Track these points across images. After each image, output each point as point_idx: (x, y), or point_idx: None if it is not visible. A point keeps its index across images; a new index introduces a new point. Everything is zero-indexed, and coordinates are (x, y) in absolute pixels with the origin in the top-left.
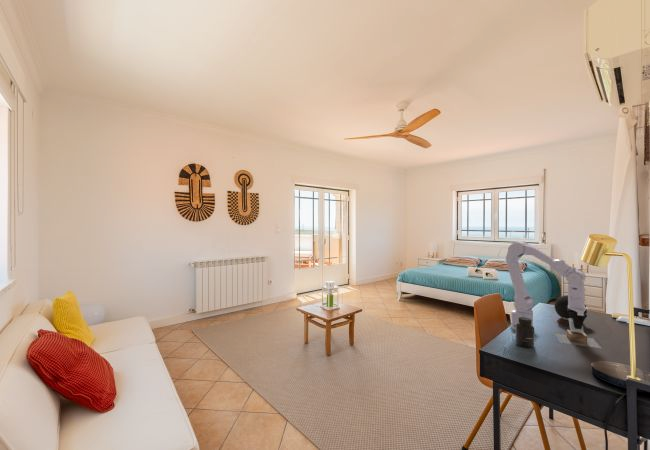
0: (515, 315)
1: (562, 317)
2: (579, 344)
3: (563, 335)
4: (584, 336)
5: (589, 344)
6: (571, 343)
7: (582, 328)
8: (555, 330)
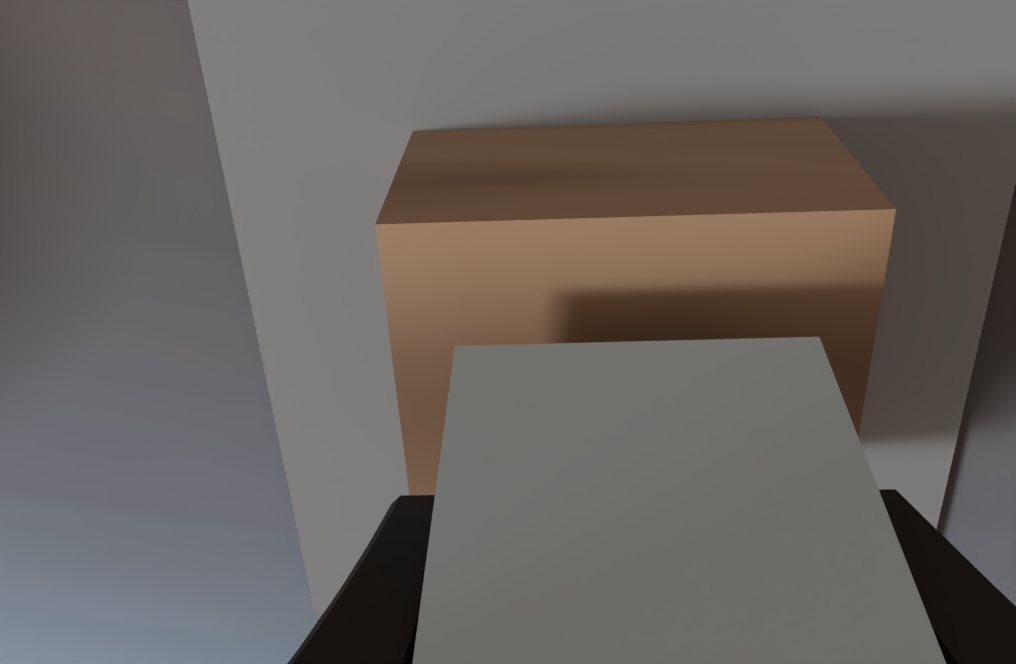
0: None
1: None
2: (925, 303)
3: (355, 495)
4: (877, 273)
5: (838, 72)
6: (907, 442)
7: (858, 460)
8: (5, 558)
